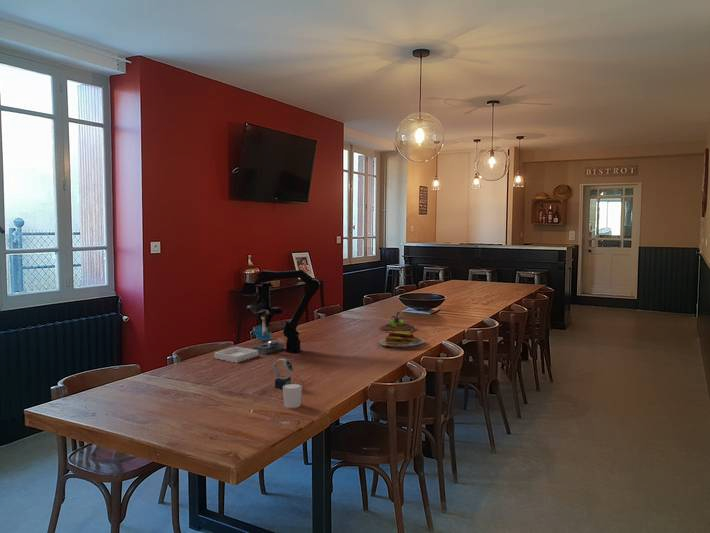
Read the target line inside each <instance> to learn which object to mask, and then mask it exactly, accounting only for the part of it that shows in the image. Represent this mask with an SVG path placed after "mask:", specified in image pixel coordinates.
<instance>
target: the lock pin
mask: <svg viewBox="0 0 710 533" xmlns="http://www.w3.org/2000/svg"><path fill="white" fill-rule="evenodd" d="M261 319H262V326H261V329H262V336H267V329H268V327H266V318H265V315H261Z"/></svg>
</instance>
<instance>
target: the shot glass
mask: <svg viewBox="0 0 710 533" xmlns="http://www.w3.org/2000/svg"><path fill="white" fill-rule="evenodd" d="M282 392H283V394H282V395H283V404H284V407H285V408H287V409H295V408H299V407H300V406H301V401H302V392H303V386H302V385H301V384H299V383H291V384H287V385H284V386H283V389H282Z"/></svg>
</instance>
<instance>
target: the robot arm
mask: <svg viewBox="0 0 710 533" xmlns="http://www.w3.org/2000/svg"><path fill="white" fill-rule="evenodd" d="M288 279H300V280H301V281H303V283H305V285H307V286H306V290H305V293H304V295H303V297H302V299H301V301H300V302H299V305H298V306H297V309H296V310H295V312H294V313H293V316H292V317H291V319H290V320H289V319H287V320H286V323H285V324H284V325H283V327H282V329H283V330H282V331H283V332H282V333H283V336H284V337H285V338H286V342H285V347H286V348H285V350H284V353H289V354H290V353H291V354H297V353H299V352H302V351H303V349H301V339H300V335H301V334H300V333H299V332H298V330H297V327H298V324H299V321H300V320H301V318H302V316H303V314H304V312H305V311H306V308H307V307H308V304H309V303H310V301H311V299H312V298H313V296H314V295H315V294H316V293H317V292H318V290H319V289H320V285H321V282H320V280H318V279H317V278H313V277H312V276H311V275H310V274H308V273H307V272H306V271H305V270H304V269H298V270H297V269H295V270H284V271H283V270H282V271H274V270H267V269H264V270H263V269H262V270H261V271H259V272H258V274H257V279H255V280H254V282H253V281H252V282H250V281H244V282H243V286H242V296H244V297H245V296H247V297H251V296H256V295H257V294H258V295H257V296H258V297H256V299H255V301H254V302H253V303H251V304H250V305H247V307H246V312H250V313H253V315H255V316H256V317H257V319H258V322H259V325H260V326H261V327H262V319H261V315H265V318H266V327H267V328H268V327H269V325H270V323H271V321H272V319H273V317H274V315H279V314H282V313H283V309H282V307H280V306H272V305H271V300H272V298H273V297H271V291H270V290H271V288H272V287H274V286H275V285H274V284H273V283H272V281H274V280H275V281H276V280H288ZM261 283H262V284H261Z"/></svg>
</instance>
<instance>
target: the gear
mask: <svg viewBox="0 0 710 533" xmlns="http://www.w3.org/2000/svg"><path fill="white" fill-rule="evenodd" d="M253 332H254V336H256V338H257V340H258V339H259V340H260V341H261V342H262V341H263V342H265V341H266V342H267V340H268V341H269V340H271V339H270V338H271V337H272V336H271V335H272V331H269V329H268V328H267V336H262V326H261V325H260V326H255V329H254V331H253ZM263 339H264V340H263Z"/></svg>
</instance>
